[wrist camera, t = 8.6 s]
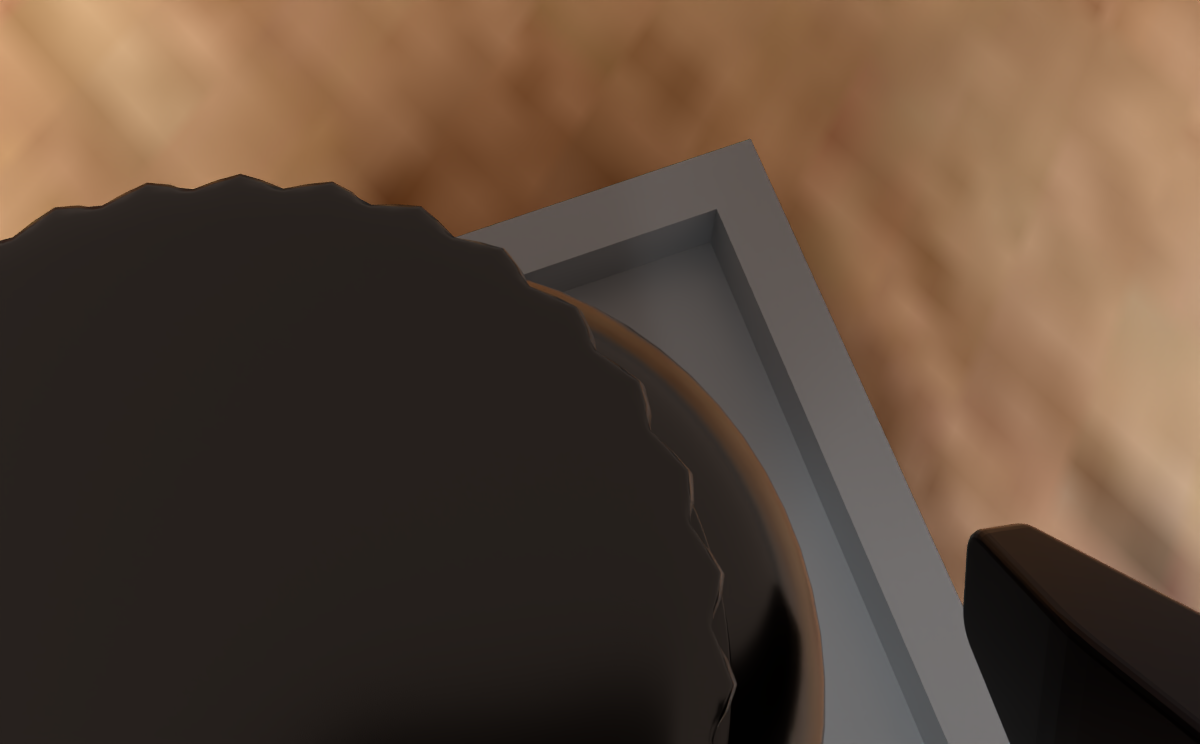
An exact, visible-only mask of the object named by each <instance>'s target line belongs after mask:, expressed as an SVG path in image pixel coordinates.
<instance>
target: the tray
mask: <svg viewBox="0 0 1200 744" xmlns="http://www.w3.org/2000/svg"><path fill="white" fill-rule="evenodd" d="M456 238H461V239H467V240H472V241H478V242H482V243H486V244H489V245H493V246H497V247H500V248H504V249H505V250H506V251H507V252H508V253H509V255H510V256H511V257H512V259H513V260H514V261H515V263H516V264H517V265H518V267H519V268H520V269H521V271H522V272H523V274H524V275H525V278H526V280H529V281H532V282H535V283H538V284H541V285H544V286H547V287H550V288H552V289H555V290H558V291H561V292H563V293H565V294H568V295H570V296H572V297H574V298H576V299H579V300H581V301H583V302H585V303H588V304H590V305H592V306H594V307H596V308H598V309H600V310H601V311H603V312H605V313H606V314H608V315H610V316H612V317H613V318H615V319H617V320H619V321H620V322H622V323H624V324H626V325H627V326H629V327H630V328H632V329H633V330H635V331H636V332H637V333H639V334H640V335H642V336H643V337H644V338H646V339H647V340H649V341H650V342H652V343H653V344H654V345H656V346H657V347H659V348H660V349H661V350H662V351H663V352H665V353H666V354H667V355H668V356H669V357H670V358H672V359H673V360H674V361H675V362H676V363H677V364H678V365H680V366H681V367H682V368H683V369H684V370H685V371H687V372H688V373H689V374H690V375H691V376H692V377H693V378H694V379H695V380H696V381H697V382H698V383H699V384H700V385H701V386H702V387H703V388H704V390H705V391H706V392H707V393H708V394H709V395H710V396H711V397H712V398H713V399H714V400H715V401H716V402H717V403H718V404H719V405H720V407H721V408H722V409H723V410H724V412H725V413H726V414H727V416H728V417H729V418H730V419H731V421H732V422H733V423H734V425H735V426H736V427H737V428H738V430H739V431H740V432H741V433H742V435H743V436H744V437H745V439H746V441H747V442H748V444H749V445H750V447H751V448H752V450H753V452H754V453H755V455H756V456H757V458H758V459H759V461H760V463H761V464H762V466H763V467H764V469H765V470H766V472H767V474H768V476H769V478H770V480H771V482H772V484H773V486H774V488H775V490H776V492H777V494H778V496H779V498H780V500H781V501H782V503H783V505H784V507H785V509H786V512H787V515H788V517H789V520H790V522H791V525H792V527H793V530H794V532H795V535H796V537H797V540H798V542H799V545H800V547H801V550H802V554H803V557H804V561H805V564H806V568H807V571H808V575H809V578H810V582H811V585H812V589H813V593H814V598H815V604H816V609H817V614H818V620H819V625H820V630H821V637H822V648H823V659H824V670H825V733H824V743H823V744H1010V743H1009V741H1008V738H1007V736H1006V733H1005V731H1004V728H1003V726H1002V724H1001V721H1000V719H999V716H998V714H997V711H996V709H995V706H994V704H993V701H992V699H991V697H990V694H989V692H988V689H987V687H986V684H985V682H984V679H983V677H982V674H981V672H980V670H979V667H978V665H977V662H976V660H975V657H974V655H973V652H972V650H971V647H970V645H969V642H968V639H967V635H966V632H965V626H964V619H963V606H962V603H961V601H960V599H959V597H958V595H957V592H956V590H955V588H954V586H953V584H952V581H951V579H950V577H949V575H948V573H947V570H946V568H945V566H944V564H943V561H942V559H941V557H940V555H939V553H938V550H937V548H936V546H935V544H934V542H933V539H932V537H931V535H930V533H929V531H928V528H927V526H926V524H925V522H924V520H923V517H922V515H921V513H920V511H919V509H918V506H917V504H916V502H915V500H914V498H913V495H912V493H911V491H910V489H909V487H908V484H907V482H906V480H905V478H904V476H903V473H902V471H901V469H900V467H899V465H898V462H897V460H896V458H895V456H894V454H893V451H892V449H891V447H890V445H889V443H888V440H887V438H886V436H885V434H884V432H883V429H882V427H881V425H880V423H879V421H878V418H877V416H876V414H875V412H874V410H873V407H872V405H871V403H870V401H869V398H868V396H867V394H866V392H865V390H864V387H863V385H862V383H861V381H860V379H859V376H858V374H857V372H856V370H855V368H854V365H853V363H852V361H851V359H850V357H849V354H848V352H847V350H846V348H845V346H844V343H843V341H842V339H841V337H840V335H839V332H838V330H837V328H836V326H835V324H834V321H833V319H832V317H831V315H830V313H829V310H828V308H827V306H826V304H825V302H824V299H823V297H822V295H821V293H820V291H819V288H818V286H817V284H816V282H815V280H814V277H813V275H812V273H811V271H810V269H809V266H808V264H807V262H806V260H805V258H804V255H803V253H802V251H801V249H800V247H799V244H798V242H797V240H796V238H795V236H794V233H793V231H792V229H791V227H790V224H789V222H788V220H787V218H786V216H785V213H784V211H783V209H782V207H781V205H780V202H779V200H778V198H777V196H776V194H775V191H774V189H773V187H772V185H771V183H770V180H769V178H768V176H767V174H766V172H765V169H764V167H763V165H762V163H761V161H760V158H759V156H758V154H757V152H756V150H755V147H754V145H753V143H752V141H751V139H748V140H745V141H742V142H739V143H736V144H733V145H730V146H727V147H724V148H721V149H718V150H715V151H712V152H709V153H706V154H703V155H700V156H697V157H694V158H691V159H688V160H685V161H682V162H679V163H676V164H673V165H670V166H667V167H664V168H661V169H658V170H655V171H652V172H649V173H646V174H643V175H641V176H638V177H635V178H632V179H629V180H626V181H623V182H620V183H617V184H614V185H611V186H608V187H605V188H602V189H599V190H596V191H593V192H590V193H587V194H584V195H581V196H578V197H575V198H572V199H569V200H566V201H563V202H560V203H557V204H554V205H551V206H548V207H545V208H542V209H539V210H536V211H533V212H530V213H527V214H524V215H521V216H518V217H515V218H512V219H509V220H506V221H503V222H500V223H497V224H494V225H491V226H488V227H485V228H482V229H479V230H476V231H473V232H470V233H467V234H464V235H461V236H458V237H456Z"/></svg>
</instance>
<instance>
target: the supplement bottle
mask: <svg viewBox="0 0 1200 744" xmlns="http://www.w3.org/2000/svg"><path fill="white" fill-rule="evenodd" d="M824 733H825V670H824V659H823V648H822V637H821V630H820V625H819V620H818V614H817V609H816V604H815V598H814V593H813V589H812V585H811V582H810V578H809V575H808V571H807V568H806V564H805V561H804V557H803V554H802V550H801V547H800V545H799V542H798V540H797V537H796V535H795V532H794V530H793V527H792V525H791V522H790V520H789V517H788V515H787V512H786V509H785V507H784V505H783V503H782V501H781V500H780V498H779V496H778V494H777V492H776V490H775V488H774V486H773V484H772V482H771V480H770V478H769V476H768V474H767V472H766V470H765V469H764V467H763V466H762V464H761V463H760V461H759V459H758V458H757V456H756V455H755V453H754V452H753V450H752V448H751V447H750V445H749V444H748V442H747V441H746V439H745V437H744V436H743V435H742V433H741V432H740V431H739V430H738V428H737V427H736V426H735V425H734V423H733V422H732V421H731V419H730V418H729V417H728V416H727V414H726V413H725V412H724V410H723V409H722V408H721V407H720V405H719V404H718V403H717V402H716V401H715V400H714V399H713V398H712V397H711V396H710V395H709V394H708V393H707V392H706V391H705V390H704V388H703V387H702V386H701V385H700V384H699V383H698V382H697V381H696V380H695V379H694V378H693V377H692V376H691V375H690V374H689V373H688V372H687V371H685V370H684V369H683V368H682V367H681V366H680V365H678V364H677V363H676V362H675V361H674V360H673V359H672V358H670V357H669V356H668V355H667V354H666V353H665V352H663V351H662V350H661V349H660V348H659V347H657V346H656V345H654V344H653V343H652V342H650V341H649V340H647V339H646V338H644V337H643V336H642V335H640V334H639V333H637V332H636V331H635V330H633V329H632V328H630V327H629V326H627V325H626V324H624V323H622V322H620V321H619V320H617V319H615V318H613V317H612V316H610V315H608V314H606V313H605V312H603V311H601V310H600V309H598V308H596V307H594V306H592V305H590V304H588V303H585V302H583V301H581V300H579V299H576V298H574V297H572V296H570V295H568V294H565V293H563V292H561V291H558V290H555V289H552V288H550V287H547V286H544V285H541V284H538V283H535V282H532V281H529V280H526V278H525V275H524V274H523V272H522V271H521V269H520V268H519V267H518V265H517V264H516V263H515V261H514V260H513V259H512V257H511V256H510V255H509V253H508V252H507V251H506V250H505V249H504V248H500V247H497V246H493V245H489V244H486V243H482V242H478V241H472V240H467V239H461V238H456V237H453V236H452V235H451V234H450V233H449V232H448V230H447V229H446V228H445V227H444V226H443V225H442V224H441V223H440V222H439V221H438V220H437V219H436V218H434V217H433V216H432V215H431V214H430V213H429V212H427V211H426V210H425V209H424V208H423V207H421V206H409V205H371V204H369V203H367V202H365V201H363V200H361V199H359V198H358V197H357V196H356V195H355V194H354V193H353V192H351V191H349V190H347V189H345V188H344V187H342V186H340V185H338V184H336V183H334V182H325V183H314V184H306V185H301V186H296V187H290V188H285V189H282V188H280V187H278V186H275V185H273V184H270V183H268V182H265V181H263V180H260V179H256V178H253V177H249V176H246V175H243V174H238V175H235V176H231V177H228V178H224V179H220V180H217V181H214V182H211V183H209V184H206V185H203V186H201V187H198V188H195V189H184V188H178V187H175V186H172V185H166V184H155V183H146V184H144V185H141V186H139V187H137V188H135V189H133V190H130V191H128V192H126V193H124V194H122V195H121V196H119V197H117V198H115V199H113V200H112V201H110V202H108V203H106V204H104V205H103V206H93V207H85V206H67V207H55V208H53V209H52V210H50V211H49V212H47V213H46V214H44V215H43V216H41V217H39V218H38V219H36V220H35V221H33V222H32V223H31V224H30V225H28V226H27V227H26V228H24V229H23V230H22V231H21V232H19V233H18V234H17V235H15V236H14V237H13V238H9V239H5V240H1V241H0V744H823V743H824Z"/></svg>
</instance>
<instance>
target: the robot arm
mask: <svg viewBox="0 0 1200 744" xmlns="http://www.w3.org/2000/svg"><path fill="white" fill-rule="evenodd" d="M963 619H964V626H965V632H966V635H967V639H968V642H969V645H970V647H971V650H972V652H973V655H974V657H975V660H976V662H977V665H978V667H979V670H980V672H981V674H982V677H983V679H984V682H985V684H986V687H987V689H988V692H989V694H990V697H991V699H992V701H993V704H994V706H995V709H996V711H997V714H998V716H999V719H1000V721H1001V724H1002V726H1003V728H1004V731H1005V733H1006V736H1007V738H1008V741H1009V743H1010V744H1200V613H1199V612H1197V611H1195V610H1193V609H1191V608H1189V607H1187V606H1186V605H1184V604H1182V603H1180V602H1178V601H1176V600H1174V599H1172V598H1170V597H1168V596H1166V595H1164V594H1162V593H1160V592H1158V591H1157V590H1155V589H1153V588H1151V587H1149V586H1147V585H1145V584H1143V583H1141V582H1139V581H1137V580H1135V579H1133V578H1131V577H1129V576H1128V575H1126V574H1124V573H1122V572H1120V571H1118V570H1116V569H1114V568H1112V567H1110V566H1108V565H1106V564H1104V563H1102V562H1100V561H1099V560H1097V559H1095V558H1093V557H1091V556H1089V555H1087V554H1085V553H1083V552H1081V551H1079V550H1077V549H1075V548H1073V547H1071V546H1070V545H1068V544H1066V543H1064V542H1062V541H1060V540H1058V539H1056V538H1054V537H1052V536H1050V535H1048V534H1046V533H1044V532H1042V531H1040V530H1039V529H1037V528H1035V527H1032V526H1030V525H1027V524H1011V525H1004V526H998V527H991V528H985V529H979V530H977V531H976V532H974V533H973V534H972V535H971V536H970V539H969V541H968V546H967V556H966V572H965V588H964V604H963Z"/></svg>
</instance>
